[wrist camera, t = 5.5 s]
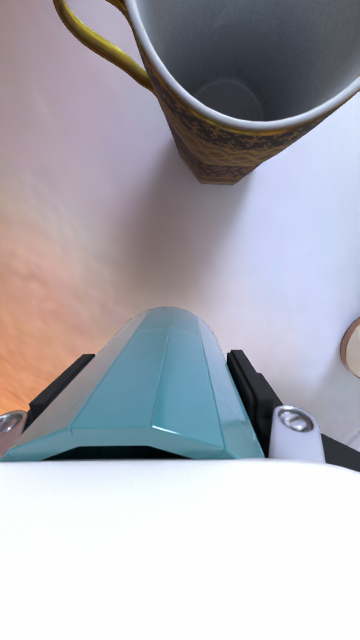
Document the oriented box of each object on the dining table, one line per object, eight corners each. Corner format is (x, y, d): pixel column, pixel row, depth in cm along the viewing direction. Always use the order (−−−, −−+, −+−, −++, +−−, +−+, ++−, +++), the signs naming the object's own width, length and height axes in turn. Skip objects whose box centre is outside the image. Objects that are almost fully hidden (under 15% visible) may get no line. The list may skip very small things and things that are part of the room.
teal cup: (108, 308, 12) (-89, 430, 3) (220, 304, 12) (320, 423, 3) (122, 401, 14) (22, 627, 5) (218, 399, 14) (276, 632, 5)
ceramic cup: (297, 57, 14) (561, -430, 4) (272, 212, 16) (397, 137, 7) (117, 50, 14) (-35, -435, 4) (122, 205, 17) (35, 122, 7)
